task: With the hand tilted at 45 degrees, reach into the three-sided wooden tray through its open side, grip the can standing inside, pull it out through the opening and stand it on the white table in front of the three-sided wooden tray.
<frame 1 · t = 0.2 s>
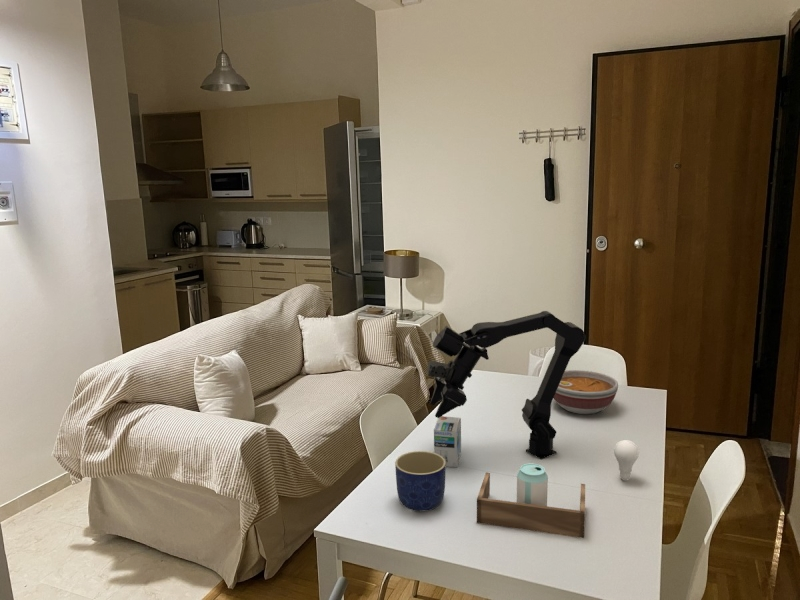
hand: (434, 410, 172), 15 cm above the table, tool tilted 35°, fingers open, 9 cm apart
planter: (421, 503, 153), on the table
bowl: (581, 408, 210), on the table
three-sided wooden tray: (531, 515, 146), on the table
lightbulb: (624, 480, 161), on the table
can: (531, 516, 146), on the table
light bulb box: (447, 459, 176), on the table
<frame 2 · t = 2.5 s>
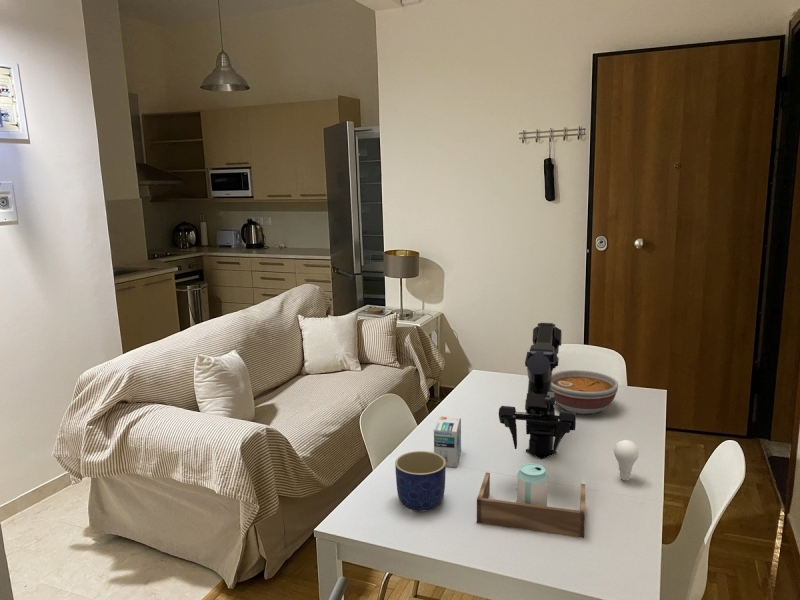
hand: (534, 450, 150), 13 cm above the table, tool tilted 45°, fingers open, 9 cm apart
nothing on the table moved.
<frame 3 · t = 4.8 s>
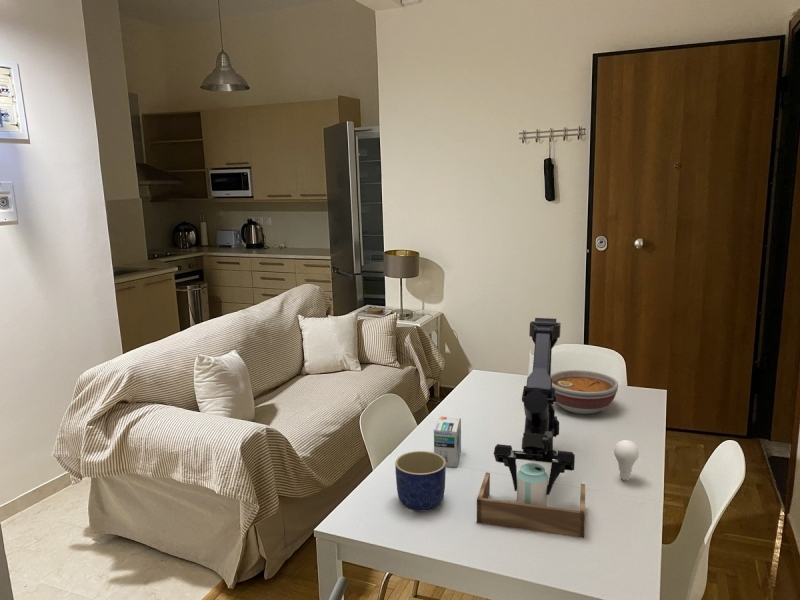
hand: (531, 492, 143), 7 cm above the table, tool tilted 45°, fingers closed on can, 7 cm apart
can: (531, 516, 146), on the table, touching gripper
everything else where it was.
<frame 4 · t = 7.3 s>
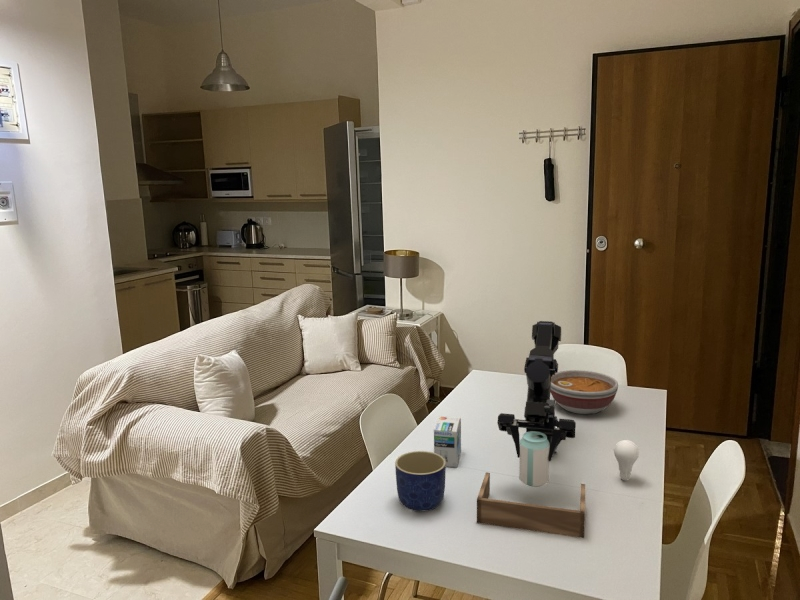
hand: (533, 459, 148), 12 cm above the table, tool tilted 45°, fingers closed on can, 7 cm apart
can: (533, 481, 151), point 5 cm above the table, touching gripper
everything else where it was.
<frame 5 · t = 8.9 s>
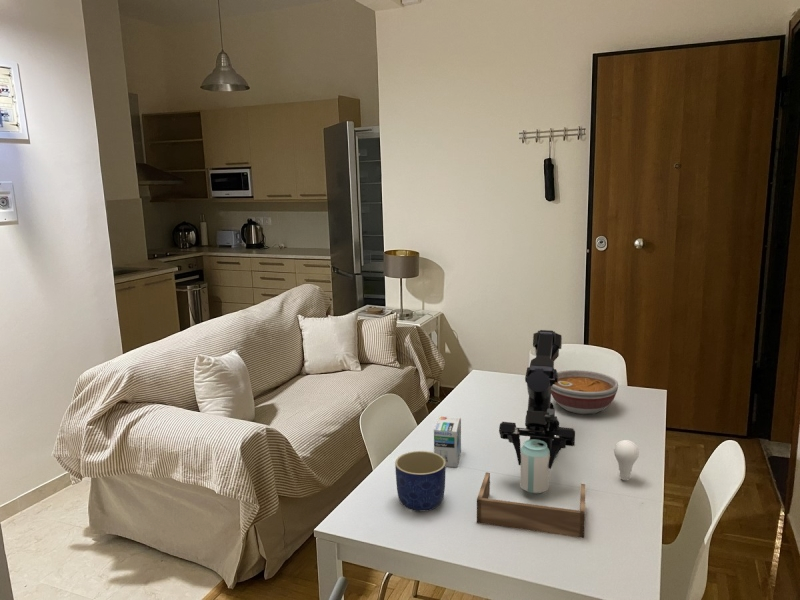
hand: (534, 466, 153), 8 cm above the table, tool tilted 45°, fingers closed on can, 7 cm apart
can: (534, 488, 155), point 1 cm above the table, touching gripper
everything else where it was.
when the fingers open (8 cm above the table, at t = 9.9 s): can drops 1 cm, on the table.
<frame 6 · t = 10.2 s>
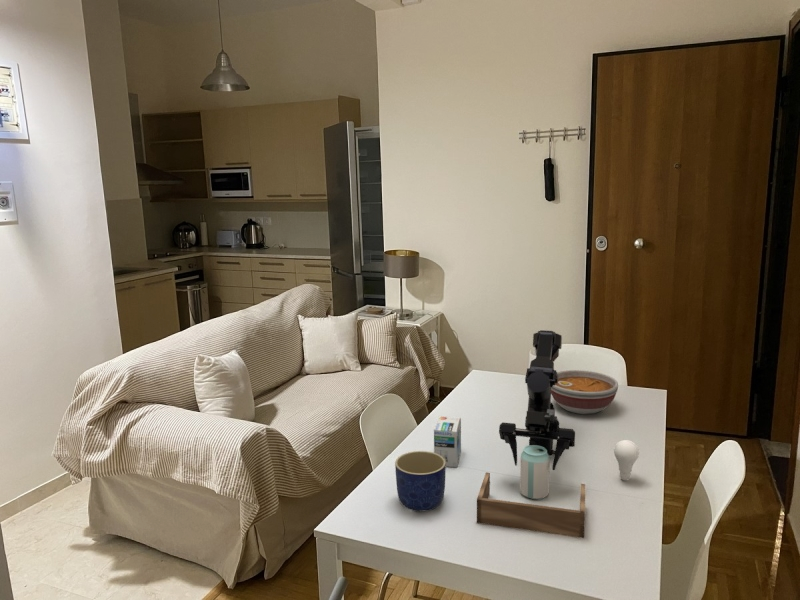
hand: (534, 467, 153), 8 cm above the table, tool tilted 45°, fingers open, 9 cm apart
can: (534, 494, 156), on the table
everything else where it was.
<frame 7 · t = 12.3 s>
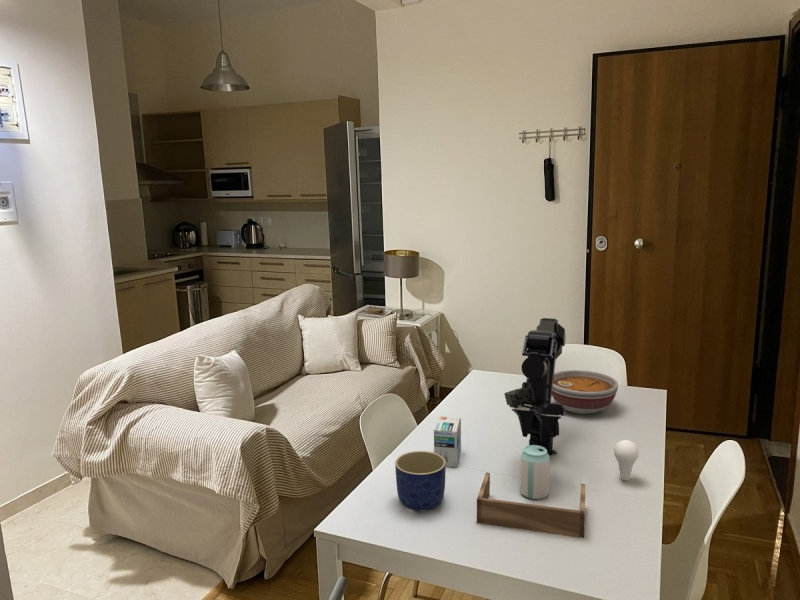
hand: (533, 439, 160), 11 cm above the table, tool tilted 20°, fingers open, 9 cm apart
nothing on the table moved.
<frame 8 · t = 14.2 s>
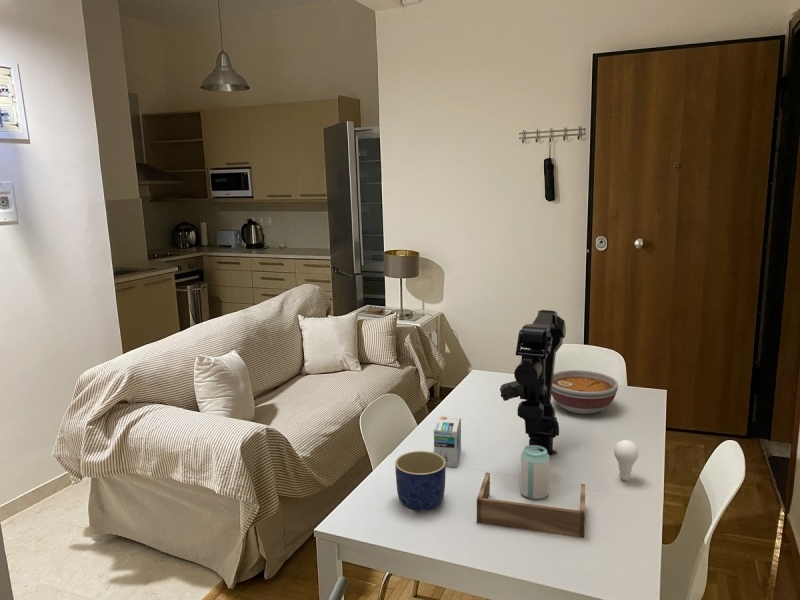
hand: (532, 430, 162), 13 cm above the table, tool pointing down, fingers open, 9 cm apart
nothing on the table moved.
at the end: can inside the target area (0.4 cm from its centre), on the table; can tilted 0°; the gripper is holding nothing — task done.
